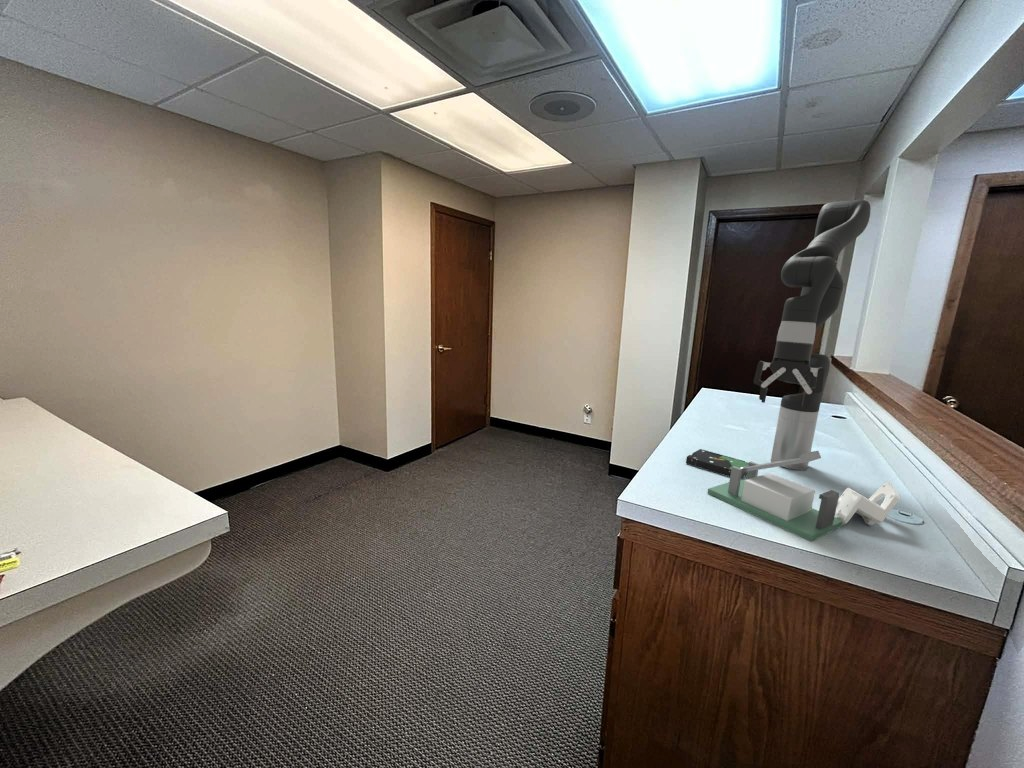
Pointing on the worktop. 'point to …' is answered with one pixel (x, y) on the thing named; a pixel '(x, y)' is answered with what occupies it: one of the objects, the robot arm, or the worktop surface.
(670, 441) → the worktop surface
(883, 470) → the worktop surface
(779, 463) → the strap
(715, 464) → the disk drive
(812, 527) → the board
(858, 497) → the mounting bracket
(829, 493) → the post
